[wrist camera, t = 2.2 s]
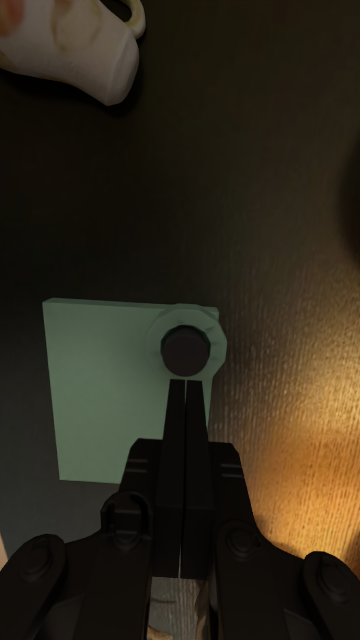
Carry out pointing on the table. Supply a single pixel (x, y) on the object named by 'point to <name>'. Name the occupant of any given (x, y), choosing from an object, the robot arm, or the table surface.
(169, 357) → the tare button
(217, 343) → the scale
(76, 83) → the mug
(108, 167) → the table surface
